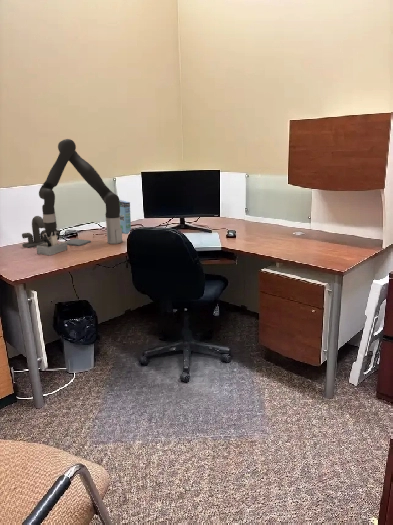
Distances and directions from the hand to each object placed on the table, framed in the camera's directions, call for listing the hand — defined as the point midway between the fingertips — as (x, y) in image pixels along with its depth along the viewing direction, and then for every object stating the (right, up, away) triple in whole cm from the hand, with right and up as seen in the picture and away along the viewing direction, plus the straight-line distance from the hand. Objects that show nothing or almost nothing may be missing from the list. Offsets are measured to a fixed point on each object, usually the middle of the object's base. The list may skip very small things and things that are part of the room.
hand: (52, 247), depth 261 cm
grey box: (0, -2, +1) cm, 2 cm away
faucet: (-13, +2, +14) cm, 19 cm away
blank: (0, -2, +1) cm, 2 cm away
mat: (+10, +4, +20) cm, 22 cm away
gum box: (+34, +14, +53) cm, 64 cm away
